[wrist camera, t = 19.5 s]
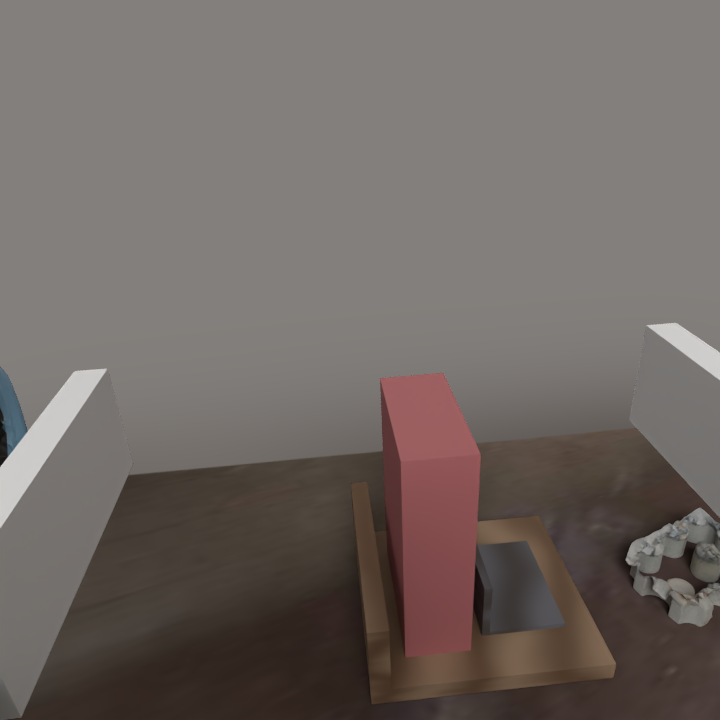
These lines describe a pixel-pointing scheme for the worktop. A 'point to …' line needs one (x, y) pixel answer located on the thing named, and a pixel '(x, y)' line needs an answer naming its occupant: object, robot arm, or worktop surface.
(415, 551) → the tall pink pillar
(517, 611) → the l-shaped wooden stand
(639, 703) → the worktop surface
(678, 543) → the grey jagged ring
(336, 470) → the worktop surface
